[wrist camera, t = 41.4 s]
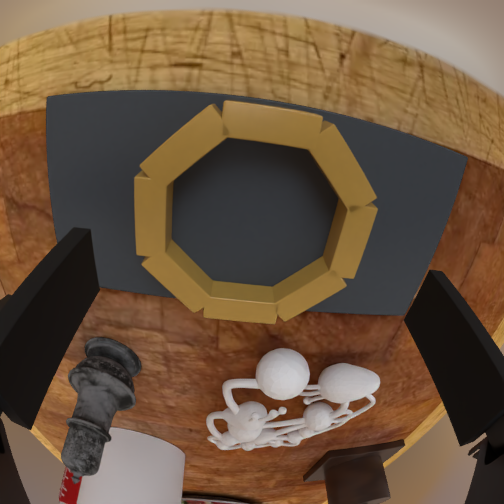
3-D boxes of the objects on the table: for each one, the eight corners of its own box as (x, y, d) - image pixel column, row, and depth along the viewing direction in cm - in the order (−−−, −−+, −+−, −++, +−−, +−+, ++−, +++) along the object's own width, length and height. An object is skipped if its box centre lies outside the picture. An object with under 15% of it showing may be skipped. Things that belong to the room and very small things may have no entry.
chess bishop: (69, 338, 21) (19, 457, 11) (121, 330, 21) (74, 475, 10) (105, 380, 24) (74, 490, 14) (156, 376, 24) (132, 503, 13)
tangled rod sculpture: (289, 439, 33) (294, 467, 30) (179, 428, 29) (179, 460, 26) (396, 356, 24) (412, 392, 21) (255, 327, 20) (261, 379, 16)
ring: (384, 130, 13) (398, 136, 12) (328, 311, 19) (334, 328, 18) (148, 94, 12) (137, 96, 11) (147, 292, 18) (140, 309, 17)
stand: (403, 439, 35) (422, 507, 24) (368, 467, 42) (380, 524, 31) (328, 450, 34) (341, 530, 23) (303, 476, 41) (309, 539, 30)
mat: (461, 154, 14) (468, 157, 14) (400, 308, 20) (404, 316, 20) (53, 95, 12) (46, 96, 11) (69, 275, 18) (65, 281, 17)
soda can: (71, 451, 39) (58, 502, 28) (97, 463, 41) (87, 514, 30) (67, 455, 41) (55, 502, 30) (91, 466, 43) (81, 513, 32)
